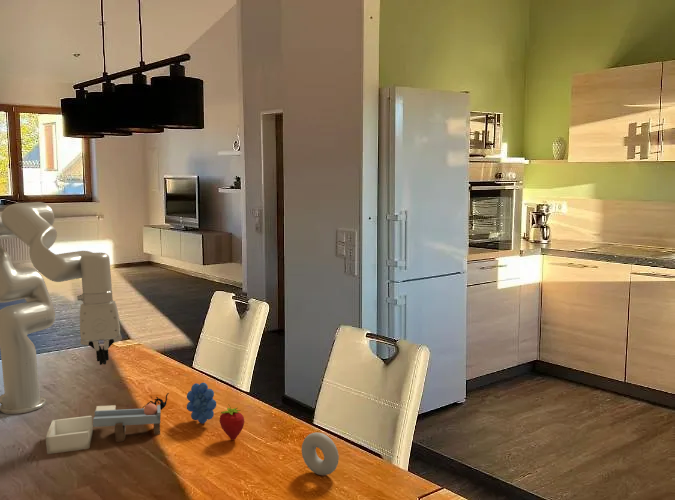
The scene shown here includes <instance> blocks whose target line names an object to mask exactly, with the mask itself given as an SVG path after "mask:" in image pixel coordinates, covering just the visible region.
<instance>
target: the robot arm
mask: <svg viewBox="0 0 675 500" xmlns="http://www.w3.org/2000/svg"><path fill="white" fill-rule="evenodd" d="M54 223H55V213H54V210H53V209H52V207H50V205H48V204H47V203H46V202H43V201H35V202H34V201H33V202H19V203H18V202H16V203H13V204H9V205H8V206H6V207H5V208H4V209H3V211H0V241H1V240H12V239H19V240H21V241H22V242H23V243H24V244H25V245H27V246H28V247H29V253H28V254H29V259H30V261H31V264H32V266H33V267H34V268H33V267H29V266H28V267H26V266H25V267H19V268H16V267H14V265H13V261H12V259H11V255H10V254H9V253H8V251H7V250H6V249H5V248H4V247H3V246H1V245H0V303H1V304H3V303H10V302H15V301H20V300H25V301H24V302H21V303H16V304H12V305H7V306H5V307H3V308H1V309H0V359H1V369H2V370H1V371H2V379H3V389H4V393H3V394H1V395H0V412H1V413H3V414H8V415H10V414H11V415H15V414H16V415H17V414H25V413H29V412H33V411H36V410H39V409H41V408H42V407H44V406H45V405H46V403H47V402H46V401H47V400H46V398H45V397H43V396H40V395H41V393H40V383H39V373H38V372H39V370H38V358H37V350H36V349H37V348H36V346H35V344H34V343H33V341H32V340H31V339H30V338H29V336H28V335H30V334H33V333H37V332H40V331H43V330H46V329H49V328H50V327H52V326H53V325H54V323H55V321H56V312H55V308H54V305H53V301H52V298H51V295H50V293H49V289H48V287H47V284H46V281H45V279H44V278H43V277H45V278H46V279H48V280H49V281H51V282H55V283H62V282H67V281H72V280H77V279H78V280H79V279H81V287H82V288H81V289H82V294H78V295H77V296H76V298H77V301H81V302H82V303H81V304H80V308H79V335H80V342H79V343H80V345H84V346H90V347H91V348H92V349H94V351H95V352H96V354H95V355H96V361H97V362H99V366H102V365H106V364H107V361H109V356H110V355H109V348H110V347H111V346H112V345H113V344H114V343H117V342H120V341H122V340H123V337H122V334H121V325H120V324H121V323H120V317H119V312H118V306H117V303H116V301H115V300H113V299H114V297H113V287H112V285H113V284H112V273H111V272H112V271H111V260H110V256H109V255H108V254H107V253H105V252H92V251H88V250H77V251H72V252H71V251H69V252H64V253H58V254H57V253H55V252H53V251H51V250H50V248H52V246H53V245H54V244H55V243H56V240H57V236H58V232H57V229H56V227H54V225H53V224H54ZM100 341H104V343H103V346H101V345H100Z"/></svg>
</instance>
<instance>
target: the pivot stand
mask: <svg viewBox="0 0 675 500" xmlns="http://www.w3.org/2000/svg"><path fill="white" fill-rule="evenodd" d="M125 432H127V430H126V425H123V423H117V424H115V426H114V440H115V442H116V443H120V442H124V441H125V440H126V433H125Z"/></svg>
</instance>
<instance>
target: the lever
mask: <svg viewBox="0 0 675 500" xmlns="http://www.w3.org/2000/svg"><path fill="white" fill-rule="evenodd" d="M156 407H157V413H156V414H155V415H145V413H144V408H145V407H142V408H143V409H142V408H128V409H126V408H125V409H116V408H117V406H116V404H114V405H96V408H95V410H94V417H92V426H93V428H98V427H99V428H100V427H102V428H103V427H115V424H117V423H123V425H125V426H134V425H135V426H137V425H154V424H158V423H160V424H161V413H162V412H161V411H162V410H161V409H160V404H156Z"/></svg>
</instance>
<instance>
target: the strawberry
mask: <svg viewBox="0 0 675 500" xmlns="http://www.w3.org/2000/svg"><path fill="white" fill-rule="evenodd" d="M227 405H228V406H229V407H230V408H229V407H227V410H224V411H221V412H220V416H219V420H218V421H219V424H220V427H221V429H222V430H223V432H224V433H225V435H227V436H228V437H229V439H230V440H231V441H234V440H236V439H237V438H238V436H239V435H240V434H241V432H242V430H243V429H244V424H245V417H244V415H243V413H241V412H240V411H241V409H238V407H235V408H232V407H231V405H230V404H227Z"/></svg>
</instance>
